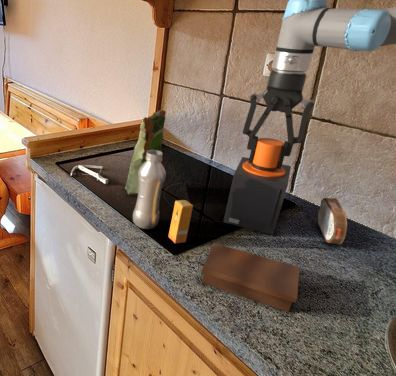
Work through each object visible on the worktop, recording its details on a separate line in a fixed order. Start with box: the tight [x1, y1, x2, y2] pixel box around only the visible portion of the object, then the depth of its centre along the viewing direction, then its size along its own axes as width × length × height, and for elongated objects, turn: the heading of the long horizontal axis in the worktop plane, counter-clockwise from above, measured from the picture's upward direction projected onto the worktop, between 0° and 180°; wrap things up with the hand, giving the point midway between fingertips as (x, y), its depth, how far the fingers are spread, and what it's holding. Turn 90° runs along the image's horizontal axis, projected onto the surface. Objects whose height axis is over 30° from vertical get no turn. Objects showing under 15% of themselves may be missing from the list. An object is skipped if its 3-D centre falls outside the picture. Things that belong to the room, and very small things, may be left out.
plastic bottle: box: [132, 150, 167, 230], centre depth 99 cm, size 6×7×20 cm
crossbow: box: [70, 164, 109, 185], centre depth 132 cm, size 16×13×2 cm
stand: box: [201, 242, 300, 313], centre depth 83 cm, size 17×11×4 cm, turn 60°
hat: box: [243, 137, 286, 177], centre depth 102 cm, size 10×10×8 cm
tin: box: [317, 197, 348, 246], centre depth 100 cm, size 15×3×8 cm, turn 161°
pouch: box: [124, 109, 167, 196], centre depth 116 cm, size 11×12×25 cm
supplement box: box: [168, 199, 194, 244], centre depth 96 cm, size 3×3×10 cm
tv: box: [223, 156, 292, 236], centre depth 106 cm, size 12×14×14 cm
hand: (264, 164), depth 103 cm, fingers closed on hat, 6 cm apart
